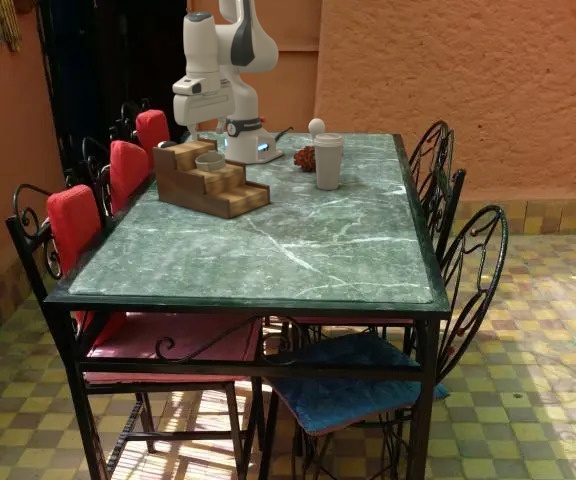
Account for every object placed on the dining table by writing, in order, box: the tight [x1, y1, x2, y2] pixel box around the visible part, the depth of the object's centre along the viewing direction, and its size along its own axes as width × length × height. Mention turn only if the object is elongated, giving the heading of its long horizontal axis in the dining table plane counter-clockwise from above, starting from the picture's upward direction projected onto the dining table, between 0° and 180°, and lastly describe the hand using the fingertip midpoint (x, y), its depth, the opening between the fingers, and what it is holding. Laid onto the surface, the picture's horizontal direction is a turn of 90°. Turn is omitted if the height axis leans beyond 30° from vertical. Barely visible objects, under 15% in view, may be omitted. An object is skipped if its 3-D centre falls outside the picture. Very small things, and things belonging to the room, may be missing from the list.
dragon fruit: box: [292, 145, 316, 172], centre depth 212 cm, size 8×8×12 cm
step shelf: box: [152, 136, 271, 220], centre depth 182 cm, size 18×28×15 cm, turn 51°
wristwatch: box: [195, 150, 226, 172], centre depth 180 cm, size 9×6×5 cm
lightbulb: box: [307, 118, 326, 146], centre depth 235 cm, size 6×6×11 cm
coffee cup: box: [312, 132, 346, 191], centre depth 193 cm, size 10×10×15 cm
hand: (208, 137), depth 177 cm, fingers open, 8 cm apart
